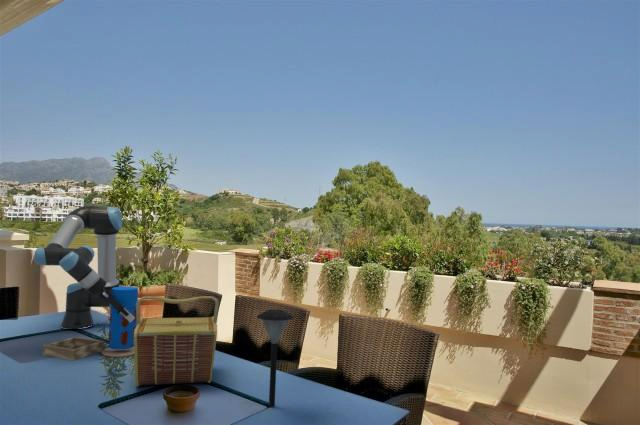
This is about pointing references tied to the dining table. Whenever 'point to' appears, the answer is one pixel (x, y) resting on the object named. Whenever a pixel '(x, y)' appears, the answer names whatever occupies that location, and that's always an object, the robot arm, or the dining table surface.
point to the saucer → (118, 352)
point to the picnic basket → (174, 347)
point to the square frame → (63, 351)
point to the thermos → (123, 318)
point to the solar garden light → (274, 341)
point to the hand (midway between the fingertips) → (130, 317)
